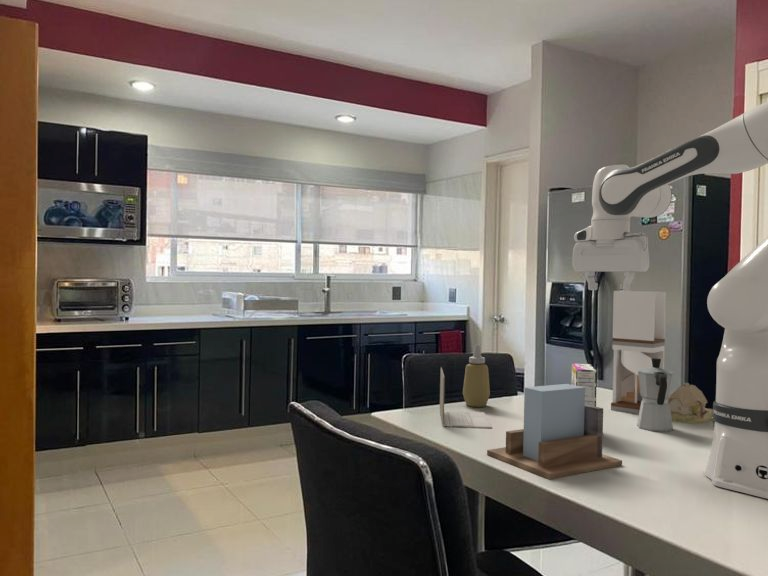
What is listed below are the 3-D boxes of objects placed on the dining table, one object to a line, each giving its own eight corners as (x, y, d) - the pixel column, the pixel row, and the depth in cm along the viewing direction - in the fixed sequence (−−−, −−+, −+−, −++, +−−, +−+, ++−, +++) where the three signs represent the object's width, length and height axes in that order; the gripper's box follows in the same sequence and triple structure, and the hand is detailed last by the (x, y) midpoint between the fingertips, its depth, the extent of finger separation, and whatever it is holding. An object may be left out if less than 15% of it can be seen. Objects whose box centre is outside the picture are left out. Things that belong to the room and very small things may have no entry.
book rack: (621, 465, 123) (623, 410, 123) (549, 479, 113) (550, 420, 113) (556, 444, 139) (557, 395, 139) (487, 454, 129) (488, 402, 129)
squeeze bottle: (462, 402, 186) (463, 343, 186) (489, 403, 185) (490, 344, 185) (462, 407, 178) (463, 346, 178) (490, 408, 177) (491, 346, 177)
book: (583, 454, 127) (584, 387, 127) (540, 462, 121) (542, 391, 121) (565, 448, 131) (566, 383, 131) (523, 455, 125) (524, 387, 125)
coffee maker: (631, 421, 164) (633, 354, 164) (666, 423, 163) (668, 356, 162) (643, 434, 150) (645, 361, 150) (682, 437, 148) (683, 363, 148)
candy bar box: (569, 427, 156) (571, 363, 156) (590, 428, 155) (591, 364, 155) (574, 437, 145) (575, 368, 145) (596, 439, 144) (597, 369, 144)
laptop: (492, 430, 153) (493, 378, 153) (441, 428, 153) (443, 376, 153) (484, 414, 171) (485, 368, 171) (439, 413, 171) (440, 367, 171)
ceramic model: (686, 425, 162) (687, 387, 162) (651, 416, 172) (652, 381, 172) (721, 420, 168) (721, 384, 168) (685, 412, 178) (686, 378, 178)
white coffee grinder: (610, 409, 180) (613, 290, 179) (623, 404, 188) (626, 291, 187) (651, 415, 172) (654, 291, 172) (663, 410, 180) (665, 291, 180)
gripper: (656, 231, 140) (654, 292, 140) (586, 236, 158) (584, 289, 158) (638, 230, 137) (636, 291, 137) (569, 234, 155) (567, 289, 155)
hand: (608, 290), depth 148 cm, fingers open, 8 cm apart
